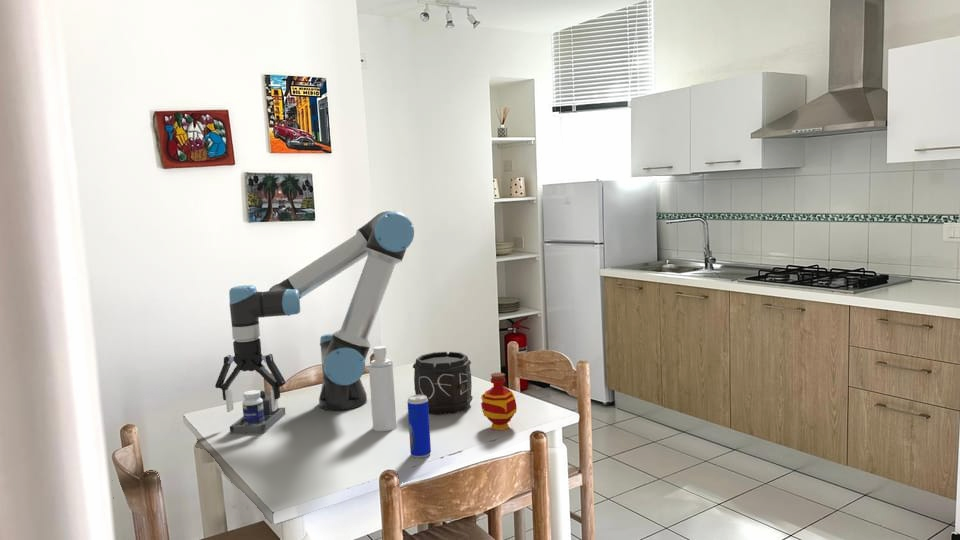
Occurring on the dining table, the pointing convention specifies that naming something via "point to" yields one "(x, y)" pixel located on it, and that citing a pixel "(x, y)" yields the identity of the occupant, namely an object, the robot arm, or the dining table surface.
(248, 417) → the pill bottle
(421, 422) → the beverage can
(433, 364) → the wooden barrel
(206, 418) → the dining table surface
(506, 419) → the potion bottle
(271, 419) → the gray tray with block
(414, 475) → the dining table surface
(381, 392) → the spray bottle
